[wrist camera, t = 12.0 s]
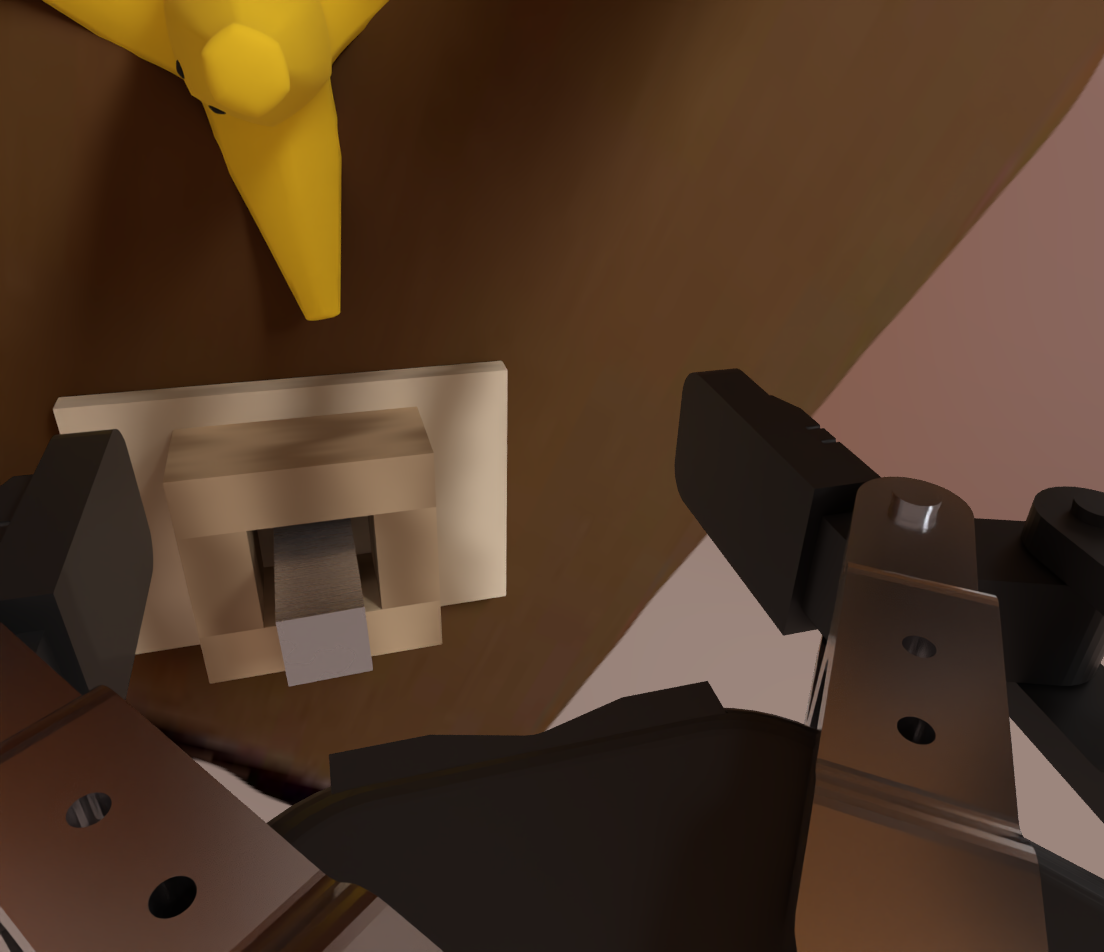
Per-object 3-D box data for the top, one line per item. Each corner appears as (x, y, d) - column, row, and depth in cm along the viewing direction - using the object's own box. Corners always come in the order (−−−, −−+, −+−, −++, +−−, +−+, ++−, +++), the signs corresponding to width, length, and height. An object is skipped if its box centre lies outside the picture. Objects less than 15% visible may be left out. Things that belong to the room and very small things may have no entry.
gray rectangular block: (344, 481, 42) (364, 607, 33) (351, 537, 43) (373, 670, 35) (272, 491, 41) (275, 622, 32) (283, 548, 42) (288, 686, 34)
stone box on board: (501, 360, 42) (533, 412, 37) (501, 583, 49) (527, 651, 44) (58, 397, 37) (26, 463, 32) (129, 640, 44) (112, 725, 39)
